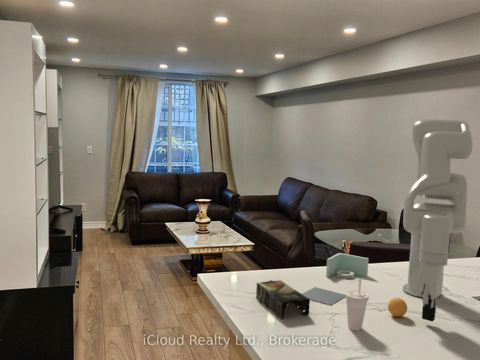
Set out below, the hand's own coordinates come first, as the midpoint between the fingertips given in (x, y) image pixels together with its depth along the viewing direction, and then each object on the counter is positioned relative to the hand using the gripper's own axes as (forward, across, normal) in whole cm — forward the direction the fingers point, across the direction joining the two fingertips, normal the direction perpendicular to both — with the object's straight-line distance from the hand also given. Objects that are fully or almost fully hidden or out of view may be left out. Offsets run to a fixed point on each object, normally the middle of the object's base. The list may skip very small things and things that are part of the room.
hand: (428, 319), depth 136 cm
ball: (-1, 0, -9) cm, 9 cm away
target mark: (+2, 0, -34) cm, 34 cm away
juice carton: (+2, +17, -40) cm, 43 cm away
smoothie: (+2, +17, -15) cm, 23 cm away
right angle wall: (+2, -27, -37) cm, 46 cm away
